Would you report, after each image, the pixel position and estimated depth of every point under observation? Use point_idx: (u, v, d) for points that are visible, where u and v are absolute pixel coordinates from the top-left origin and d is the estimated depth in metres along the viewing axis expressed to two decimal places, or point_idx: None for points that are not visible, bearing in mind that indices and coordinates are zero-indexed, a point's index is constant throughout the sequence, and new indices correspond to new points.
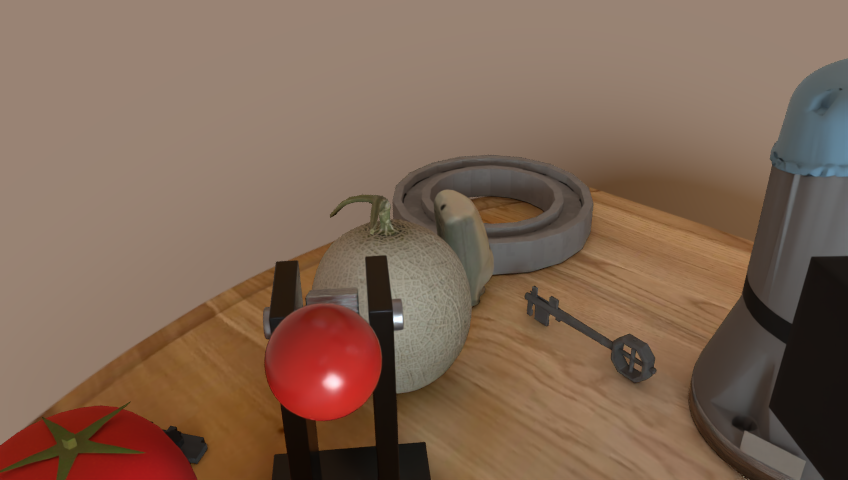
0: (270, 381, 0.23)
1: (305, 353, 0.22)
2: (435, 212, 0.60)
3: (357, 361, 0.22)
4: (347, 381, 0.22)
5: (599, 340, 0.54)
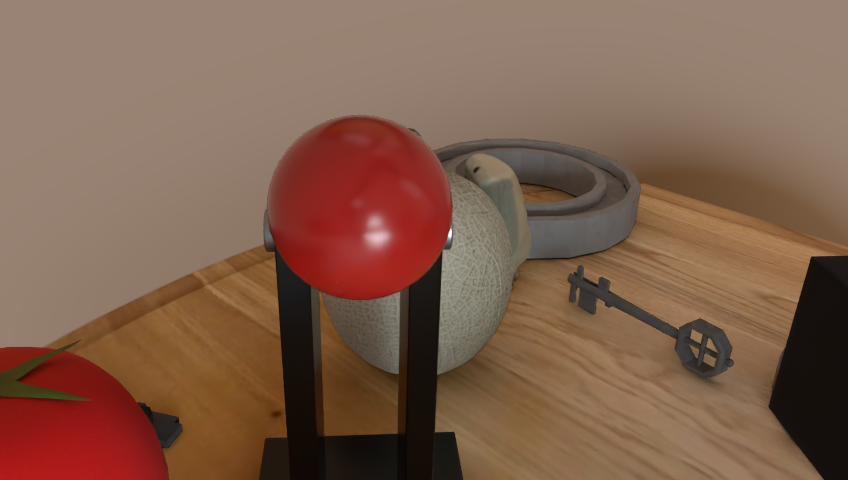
0: (276, 224, 0.14)
1: (337, 170, 0.13)
2: None
3: (420, 191, 0.14)
4: (403, 221, 0.13)
5: (661, 327, 0.45)
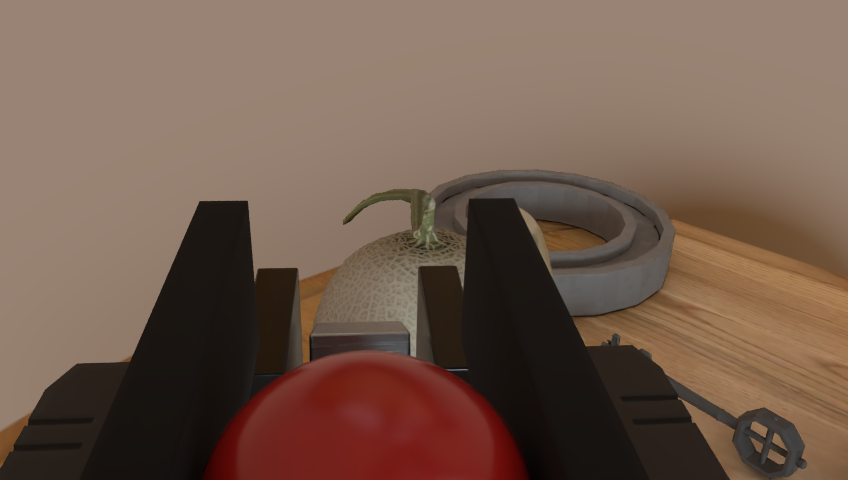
0: None
1: None
2: None
3: None
4: None
5: (715, 414, 0.38)
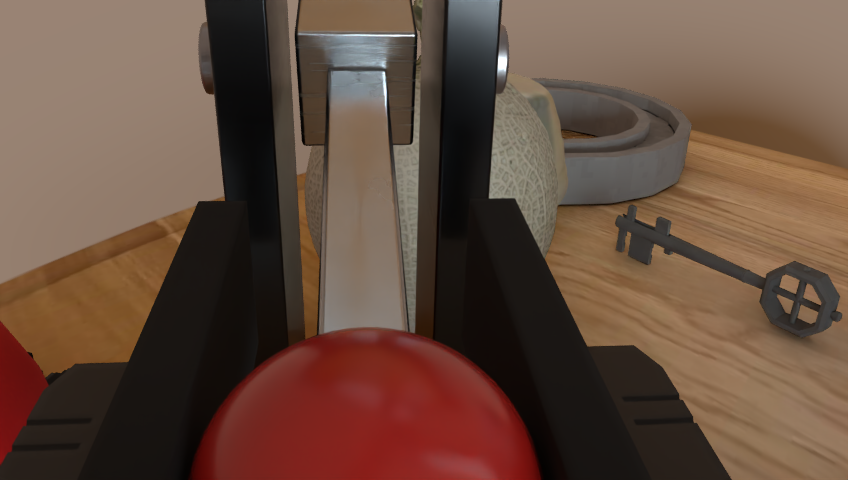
0: None
1: None
2: None
3: None
4: None
5: (740, 275, 0.35)
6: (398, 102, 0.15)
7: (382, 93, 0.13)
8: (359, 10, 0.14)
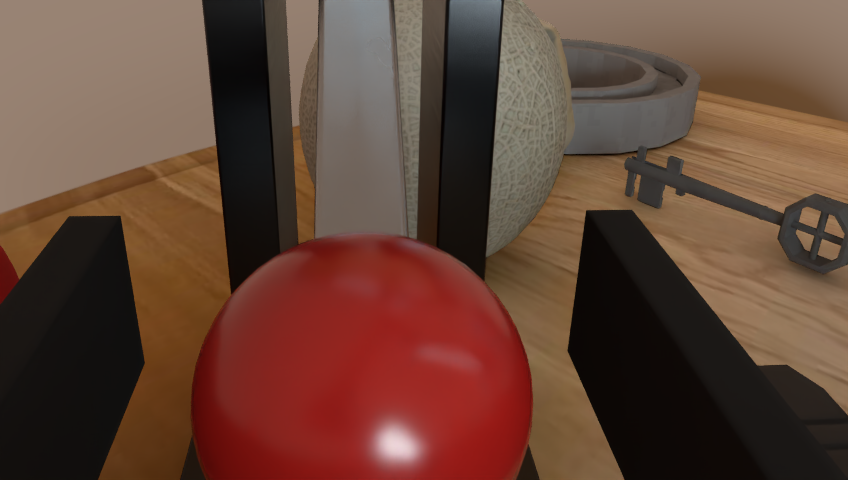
0: None
1: None
2: None
3: None
4: None
5: (757, 211, 0.34)
6: None
7: None
8: None
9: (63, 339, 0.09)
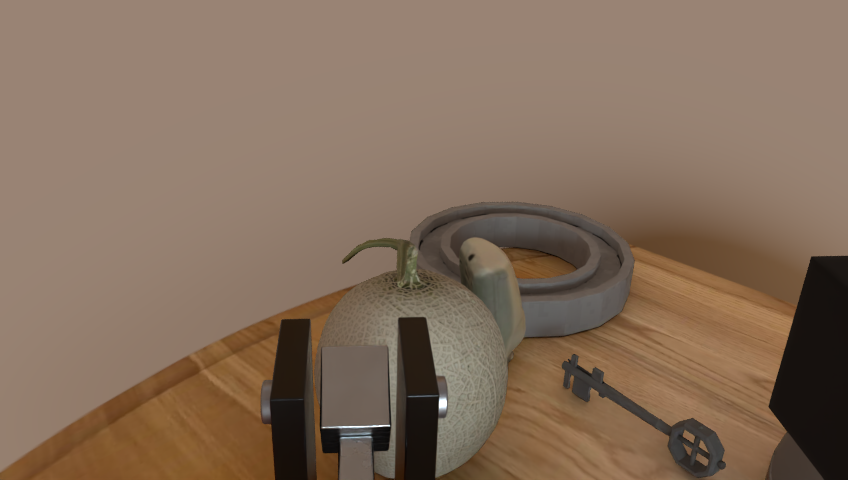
0: None
1: None
2: (460, 263, 0.52)
3: None
4: None
5: (654, 423, 0.45)
6: (380, 441, 0.25)
7: (370, 463, 0.24)
8: (357, 396, 0.24)
9: None
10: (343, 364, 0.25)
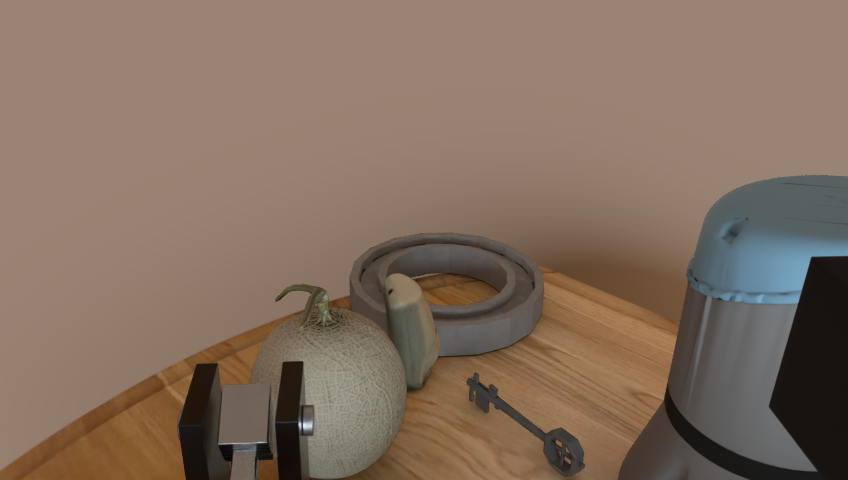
0: None
1: None
2: (384, 295, 0.62)
3: None
4: None
5: (533, 431, 0.55)
6: (263, 453, 0.34)
7: (253, 469, 0.33)
8: (245, 421, 0.34)
9: None
10: (237, 398, 0.34)
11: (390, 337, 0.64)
